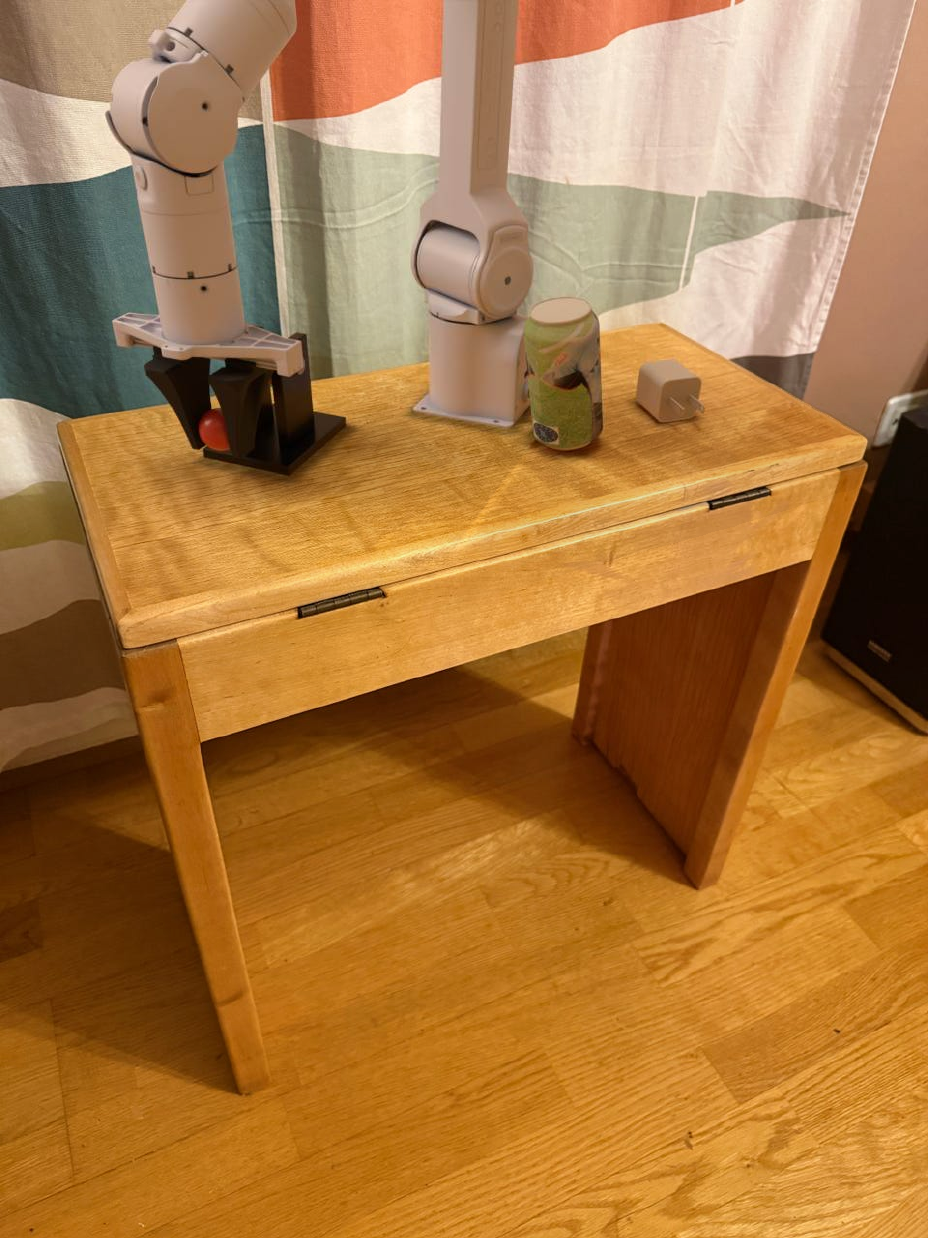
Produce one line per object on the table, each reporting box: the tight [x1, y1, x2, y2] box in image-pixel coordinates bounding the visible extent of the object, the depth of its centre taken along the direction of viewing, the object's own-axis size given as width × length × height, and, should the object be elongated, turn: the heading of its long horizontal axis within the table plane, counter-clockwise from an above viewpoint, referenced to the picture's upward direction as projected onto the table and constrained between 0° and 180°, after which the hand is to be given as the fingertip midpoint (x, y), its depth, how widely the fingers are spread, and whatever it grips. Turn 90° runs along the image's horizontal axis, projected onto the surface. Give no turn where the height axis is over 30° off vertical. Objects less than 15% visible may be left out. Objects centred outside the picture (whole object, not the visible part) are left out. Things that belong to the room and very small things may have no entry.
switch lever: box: [199, 378, 272, 451], centre depth 71 cm, size 11×3×3 cm, turn 159°
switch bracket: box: [202, 324, 347, 476], centre depth 75 cm, size 10×8×9 cm
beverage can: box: [524, 296, 604, 451], centre depth 76 cm, size 6×7×12 cm
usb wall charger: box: [635, 358, 706, 423], centre depth 82 cm, size 4×7×4 cm, turn 18°
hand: (223, 448), depth 70 cm, fingers closed on switch lever, 3 cm apart
